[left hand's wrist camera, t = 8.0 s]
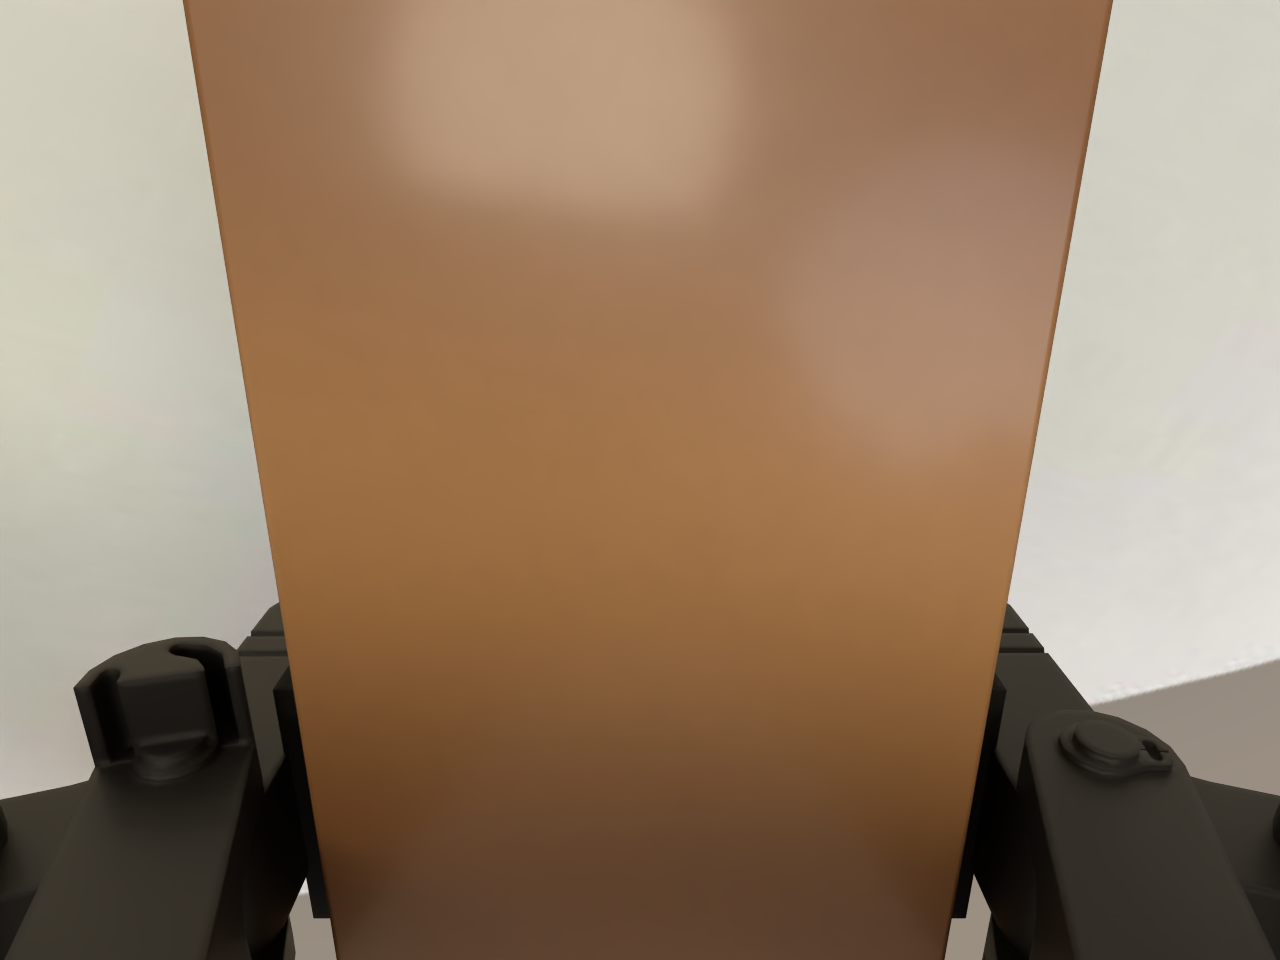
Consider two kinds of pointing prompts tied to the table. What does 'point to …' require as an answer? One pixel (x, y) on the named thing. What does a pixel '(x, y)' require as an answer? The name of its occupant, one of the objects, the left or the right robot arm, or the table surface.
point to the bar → (644, 446)
